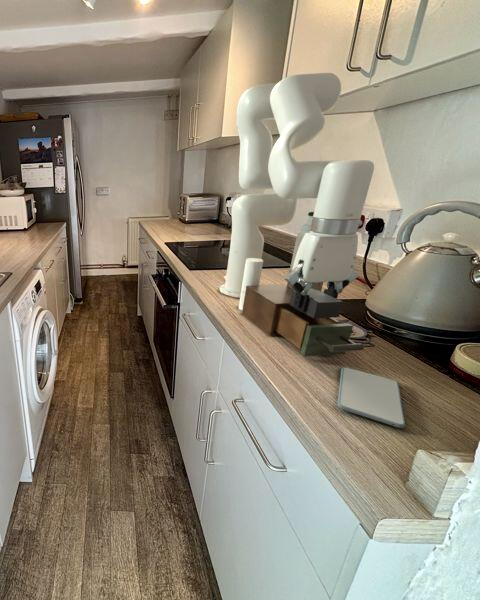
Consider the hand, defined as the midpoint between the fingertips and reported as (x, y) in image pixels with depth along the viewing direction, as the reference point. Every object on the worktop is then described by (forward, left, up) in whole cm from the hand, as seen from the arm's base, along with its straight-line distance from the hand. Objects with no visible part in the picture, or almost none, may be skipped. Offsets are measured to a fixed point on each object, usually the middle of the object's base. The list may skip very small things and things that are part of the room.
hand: (313, 308), depth 70 cm
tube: (-22, -2, -9) cm, 24 cm away
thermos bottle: (-17, +10, -9) cm, 22 cm away
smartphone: (+19, -2, -9) cm, 21 cm away
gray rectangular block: (0, 0, 0) cm, 0 cm away
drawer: (+2, 0, -8) cm, 9 cm away
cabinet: (-12, 0, -9) cm, 15 cm away
